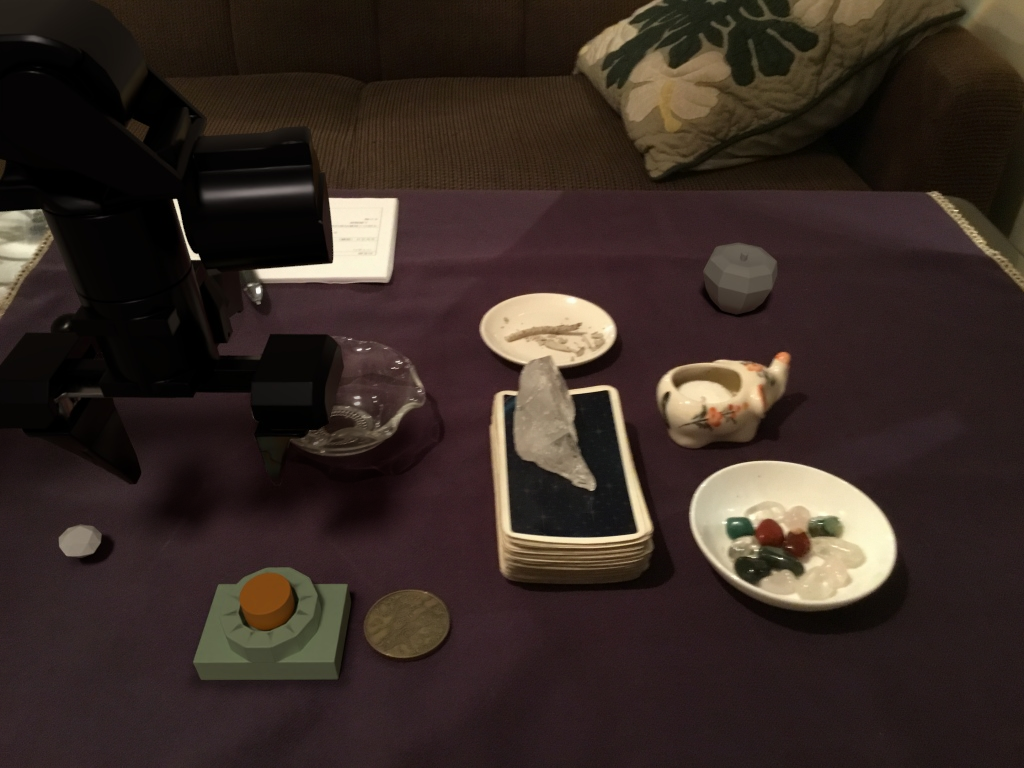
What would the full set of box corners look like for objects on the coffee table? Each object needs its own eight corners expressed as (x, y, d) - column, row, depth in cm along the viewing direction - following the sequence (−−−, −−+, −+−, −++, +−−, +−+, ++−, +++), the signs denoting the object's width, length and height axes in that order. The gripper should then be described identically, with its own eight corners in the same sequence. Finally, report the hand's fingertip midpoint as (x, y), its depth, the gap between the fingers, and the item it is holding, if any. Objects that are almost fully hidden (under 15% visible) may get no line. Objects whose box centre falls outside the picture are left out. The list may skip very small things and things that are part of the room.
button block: (200, 681, 52) (185, 647, 49) (225, 601, 56) (212, 567, 54) (338, 680, 52) (330, 647, 49) (351, 601, 56) (344, 567, 54)
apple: (776, 327, 83) (791, 274, 79) (701, 324, 83) (712, 271, 79) (761, 286, 89) (774, 234, 85) (691, 283, 89) (701, 232, 85)
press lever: (70, 359, 74) (40, 338, 71) (71, 340, 76) (43, 319, 74) (159, 296, 73) (133, 273, 71) (158, 278, 75) (133, 255, 73)
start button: (239, 630, 50) (233, 614, 49) (251, 588, 53) (246, 572, 52) (289, 630, 51) (284, 614, 49) (299, 588, 53) (294, 572, 52)
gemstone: (52, 557, 58) (49, 534, 56) (86, 536, 60) (84, 513, 58) (77, 581, 58) (75, 559, 56) (111, 559, 60) (110, 536, 58)
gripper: (341, 200, 47) (370, 398, 57) (27, 198, 47) (112, 396, 57) (302, 307, 38) (344, 517, 48) (-82, 305, 38) (40, 515, 48)
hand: (207, 479), depth 51 cm, fingers open, 9 cm apart
